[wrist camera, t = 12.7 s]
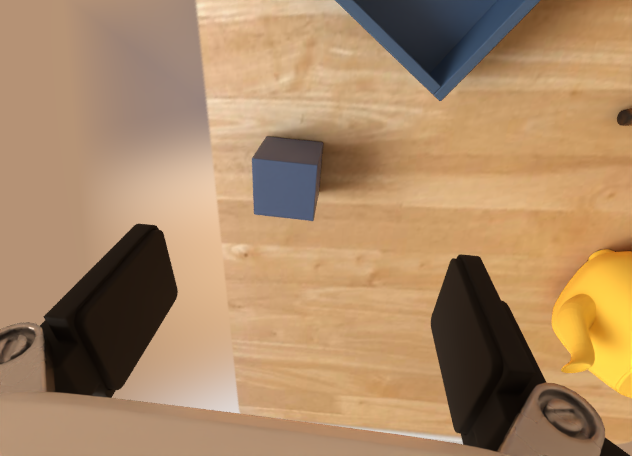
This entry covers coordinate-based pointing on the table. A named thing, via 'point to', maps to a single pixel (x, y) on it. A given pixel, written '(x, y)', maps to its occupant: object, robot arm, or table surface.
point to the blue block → (287, 178)
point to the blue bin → (438, 33)
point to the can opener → (625, 117)
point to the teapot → (599, 319)
